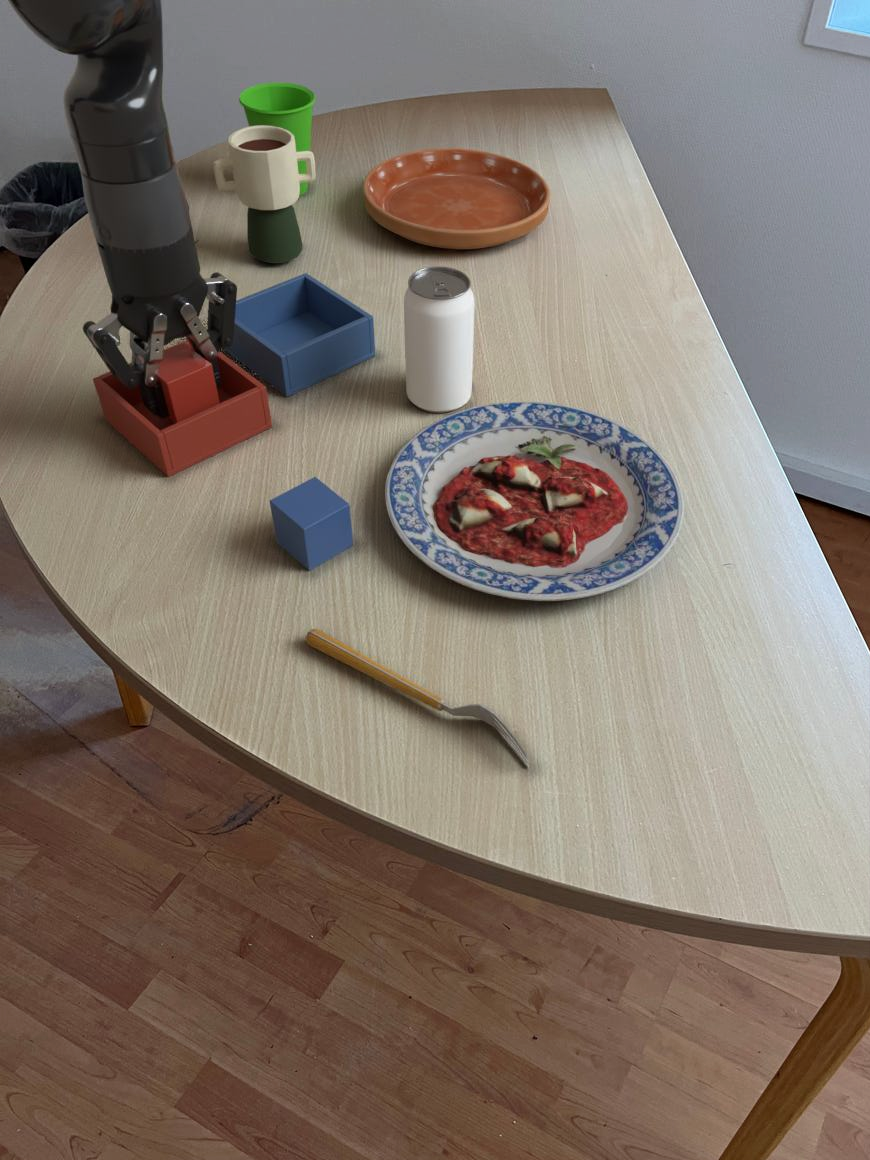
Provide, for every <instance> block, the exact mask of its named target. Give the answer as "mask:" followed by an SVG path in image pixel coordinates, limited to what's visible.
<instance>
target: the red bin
mask: <svg viewBox="0 0 870 1160" xmlns="http://www.w3.org/2000/svg"><path fill="white" fill-rule="evenodd" d="M182 343H185V344H186V345H188V346H189V347H190V348H191V349H193V348H192V346H191V345H190V343H189V342H188V340H187V339H186V340H183V341H181V342H178V343H176V344H174V345H171V346H169V347H166V348H164V351H165V350H168V349H170V348H173V347H175V346H177V345H180V344H182ZM193 350H194V349H193ZM194 351H195V350H194ZM216 360H217V365H218V369H219V374H220V379H221V384H220V387H218V388H217V389H218V397H219V402H220V404H218V405H215V406H213V407H211V408H209V409H207V410H204V411H202V412H200V413H198V414H196V415H193V416H191V417H189V418H187V419H185V420H182V421H180V422H178V423H176V424H175V423H173V422H172V421H171V420H170V419H169V418H168V417H166V418H164V419H161V418H160V417H158V416H157V415H156V416H155V415H154V414H153V413H151V412H150V411H149V410H148V409H147V408H146V407H145V406H144V404H143V400H142V397H141V393H140V389H139V386H138V385H137V386H136V387H135V388H133V389H129V388H127V387H126V386H125V385H124V384H123V383H122V382H121V381H120V380H119V379H117V378H116V377H115V376H113V375H112V373H111V372H110V371H108V372H106V373H105V372H104V373H103V374H100V375H98V376H95V377H93V378H92V381H93V385H94V388H95V392H96V394H97V398H98V401H99V404H100V407H101V410H102V414H103V416H104V417H103V418H104V419H105V421H106V422H107V423H109V424H110V426H112V427H113V428H114V429H115V430H116V431H118V432H119V434H121V435H122V436H123V437H124V438H125V439H126V440H127V441H128V442H129V443H131V444H132V445H133V446H134V447H135V448H136V449H137V450H138V451H139V452H140V453H141V454H142V455H144V456H145V457H146V458H147V459H148V460H149V461H150V462H151V463H153V465H155V466H156V467H157V468H158V469H159V470H160V471H161V472H163V474H164V475H166V476H167V477H168V478H170V477H173V476H174V475H175V474H178V473H180V472H182V471H185V470H186V469H188V468H191V467H193V466H194V465H197V464H199V463H201V462H203V461H206V460H207V459H209V458H211V457H213V456H215V455H217V454H220V453H222V452H223V451H226V450H228V449H230V448H232V447H234V446H236V445H239V444H240V443H242V442H245V441H246V440H248V439H250V438H253V437H255V436H257V435H259V434H262V433H263V432H265V431H267V430H269V429H271V428H273V423H272V417H271V411H270V404H269V398H268V391H267V387H266V385H264V384H263V383H261V382H260V381H259V380H258V379H256V378H255V377H254V376H253V375H251V374H250V373H249V372H247V371H246V370H245V369H243V368H242V367H241V366H239V365H238V364H237V363H235V362H234V361H233V360H231V359H230V358H229V357H227V355H225V354H224V353H222V352H221V350H220V351H219V352H218V356H217V358H216ZM128 364H129V365H132V362H130V363H128Z"/></svg>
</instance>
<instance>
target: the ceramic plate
mask: <svg viewBox="0 0 870 1160" xmlns="http://www.w3.org/2000/svg"><path fill="white" fill-rule="evenodd" d="M384 487H385V488H384V497H385V499H384V500H385V506H386V511H387V514H388V517H389V519H390V522H391V525H392V527H393V529H394V531H395V532H396V534H397V536H398V538H400V539H401V541H402V542H403V544H404V545H405V546H406V548H408V550H410V552H411V553H412V554H413V555H414V556H415V557H416V558H418V559H419V560H420V561H422V562H423V563H424V564H425V565H426V566H427V567H429V568H431V569H432V570H434V571H436V572H437V573H439V574H440V575H442V576H443V577H445V578H447V579H449V580H451V581H453V582H455V583H458V584H460V585H462V586H464V587H467V588H469V589H472V590H476V591H479V592H482V593H485V594H490V595H494V596H499V597H502V598H508V599H513V600H522V601H523V600H525V601H533V602H534V601H535V602H556V601H570V600H578V599H584V598H589V597H593V596H597V595H601V594H604V593H608V592H611V591H614V590H616V589H618V588H621V587H623V586H625V585H628V584H630V583H632V582H633V581H635V580H638V579H639V578H641V577H642V576H644V575H646V574H647V573H649V572H650V571H651V570H652V569H653V568H655V566H657V565H658V564H660V562H661V561H662V560H663V559H664V558H665V557H666V556H667V554H668V553H669V552H670V550H671V549H672V548H673V546H674V544H675V543H676V541H677V539H678V537H679V536H680V535H679V534H680V532H681V529H682V526H683V521H684V516H685V503H684V502H685V501H684V494H683V490H682V487H681V484H680V482H679V479H678V477H677V475H676V473H675V472H674V469H673V468H672V466H671V465H670V463H669V462H668V461H667V459H666V458H664V456H663V455H662V454H661V452H660V451H658V449H656V448H655V447H654V446H653V445H652V444H651V443H650V442H649V441H648V440H646V439H645V438H643V436H640V435H639V434H638V433H636V432H634V431H633V430H632V429H631V428H628V427H626V426H624V425H623V424H621V423H619V422H617V421H615V420H613V419H610V418H608V417H605V416H603V415H600V414H598V413H595V412H591V411H589V410H586V409H583V408H579V407H574V406H568V405H563V404H557V403H553V402H542V401H531V400H528V401H507V402H506V401H505V402H504V401H503V402H495V403H494V402H493V403H487V404H483V405H479V406H474V407H470V408H465V409H463V410H460V411H457V412H454V413H451V414H449V415H446V416H443V417H441V418H440V419H437V420H436V421H434V422H432V423H431V424H429V425H427V426H426V427H424V428H423V429H421V430H420V431H419V432H418V433H416V434H415V435H414V436H412V437H411V438H410V439H409V440H408V441H407V442H406V443H405V445H403V446H402V447H401V448H400V450H399V451H398V452H397V454H396V456H395V457H394V459H393V461H392V463H391V465H390V467H389V470H388V472H387V476H386V480H385V485H384Z"/></svg>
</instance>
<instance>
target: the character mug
mask: <svg viewBox="0 0 870 1160" xmlns="http://www.w3.org/2000/svg"><path fill="white" fill-rule="evenodd" d="M227 145H228V151H229V158H221V159H216V160H215V161H213V172H214V178H215V184H216V187H217V189H218V191H221V192H222V191H223V192H227V191H235V194H236V197H237V198H238V200H239V201H240V203H241V204H242V205H244V206H245V207H247V213H246V215H247V219H246V221H247V223H246V224H247V251H248V252H249V254H250V255H251V256H252V257H253V258H255V259H257V260H259V261H261V262H264V263H271V264H281V263H288V262H290V261H293V259H295V258H297V257H298V256H299V255H300V254H301V253H302V252H303V240H302V235H301V231H300V226H299V222H298V219H297V215H296V210H295V207H294V206H293V205H294V204H295V203H296V202H297V201H298V199H299V198H300V196H299V194H300V183H305V182H308V183H312V182H314V181H315V180H316V177H317V173H316V163H315V156H314V153H313V151H311V150H310V151H302V152H296V145H295V138H294V135H293V134H292V133H291V132H289V131H288V130H285V129H283V128H280V127H274V126H265V125H259V126H250V127H249V126H246V127H241V128H240V129H237V130H235V131H233V132H232V133H231V134H230V135H229V136H228V141H227ZM297 161H306V169H307V173H304V174H299V173H298V164H297ZM225 169H231V171H232V178H233V180H227V181H226V178H225V171H224V170H225Z"/></svg>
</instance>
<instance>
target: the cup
mask: <svg viewBox="0 0 870 1160" xmlns="http://www.w3.org/2000/svg"><path fill="white" fill-rule="evenodd" d="M315 101H316V95H315V93H314V92H313V90H311V89H310V88H309V87H306V86H303V85H300V84H296V83H289V82H267V83H266V82H265V83H259V84H256V85H253V86H250V87H248V88H246V89H244V90H243V91H242V92H241V93H240V95H239V97H238V102H239V104H240V105H241V106H242V107H243V110H244V114H245V116H246V120H247V124H248V127H250V126H259V125H265V126H274V127H280V128H283V129H285V130H288V131H289V132H291V133H292V134H293V135H294V138H295V145H296V152H302V151H310V152H311V142H312V122H313V105H314V104H315ZM297 164H298V173H299V174H304V173H307V169H306V161H297ZM308 188H309V182H305V183H300V194H299V197H300V196H302V195H304V194H305V193H307V190H308Z"/></svg>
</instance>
